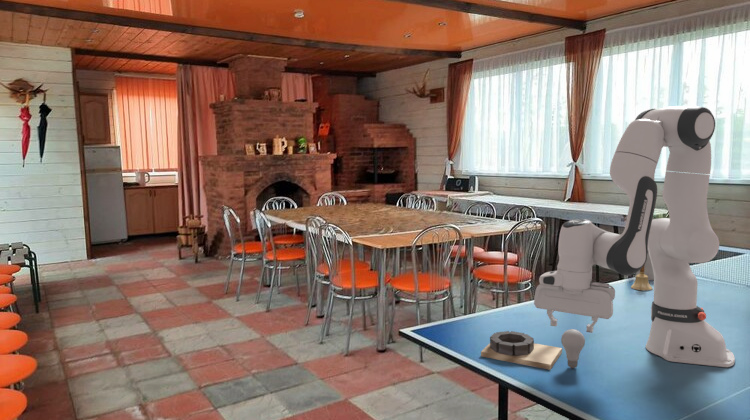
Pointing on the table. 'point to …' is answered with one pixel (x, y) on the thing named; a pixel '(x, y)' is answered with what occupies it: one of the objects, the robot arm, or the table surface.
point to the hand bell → (641, 281)
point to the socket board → (532, 359)
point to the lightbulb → (573, 346)
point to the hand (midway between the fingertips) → (571, 328)
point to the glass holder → (648, 269)
